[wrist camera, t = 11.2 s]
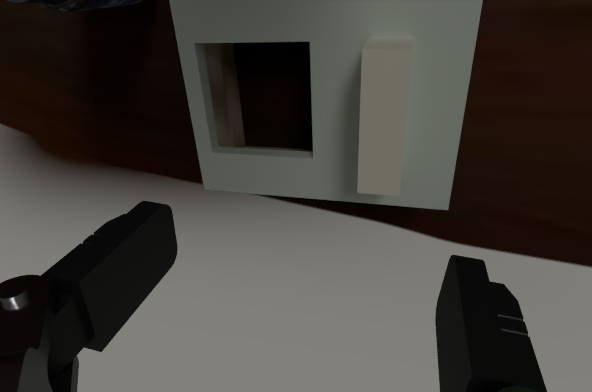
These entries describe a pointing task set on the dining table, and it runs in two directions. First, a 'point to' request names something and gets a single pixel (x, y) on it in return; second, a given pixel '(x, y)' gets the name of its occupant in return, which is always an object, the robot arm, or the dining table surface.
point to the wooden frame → (227, 96)
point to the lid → (344, 96)
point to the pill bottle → (77, 4)
